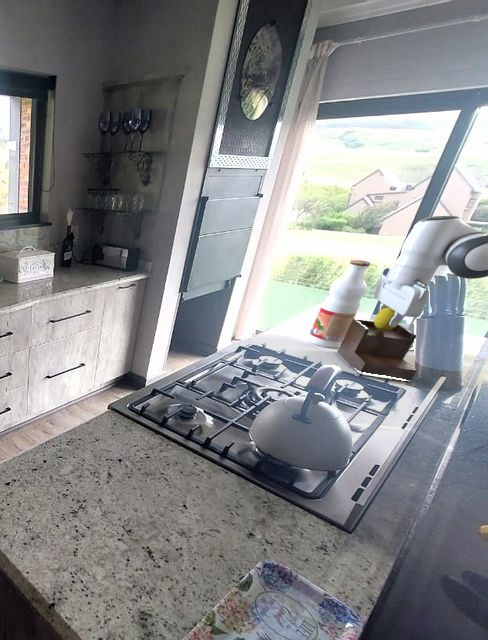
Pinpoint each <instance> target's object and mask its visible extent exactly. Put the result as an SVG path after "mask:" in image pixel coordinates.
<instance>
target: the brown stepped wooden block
mask: <svg viewBox="0 0 488 640" xmlns="http://www.w3.org/2000/svg"><path fill="white" fill-rule="evenodd" d="M415 338H416V335H415V334H414V333H412V332H411V331H409V330H408V329H406V328H405V327H403V326H402V325H400V324H398V325H397V326H396V327H395V328H393V329H391V330H385V331H383V332H381V331H380V330H379V329H378V328H377V327H376V326H375V324H374V320H368V319H361V318H354V319H353V320H352V322H351V324H350V326H349V329H348V331H347V333H346V335H345V337H344V339H343V341H342V343H341V345H340V346H339V347H338V349H337V353H338V354H339V355H340V356H341V357H342V358H343V359H344V360H345V362H347V363H348V365H349V366H350V367H351V368H352V369H353V370H354V372H356V370H355V369H354V368H356V369H357V370H359V371H361V372H366V373H371V374H378V375H386V376H391V377H396V378H402V379H406V380H411V381H412V380H413V378H414V376H415V375H416V374H417V372H418V370H417V369H416V368H415V367H413V366H412V365H411V364H409V362H407V361H406V360H405V357H406V355H407V353H408V351H410V350H409V348H410V346H411V345H412V343H413V341H414V339H415ZM353 367H354V368H353ZM391 381H395V382H401V380H395V379H392V380H391ZM401 383H408V384H409V383H410V384H411V382H408V381H402V382H401Z"/></svg>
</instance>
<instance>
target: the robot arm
mask: <svg viewBox="0 0 488 640" xmlns="http://www.w3.org/2000/svg"><path fill="white" fill-rule="evenodd" d="M440 266H447V267H448V269H449V271H450V272H451V273H452V274H453V275H455V276H457V277H459V278H462V279H468V280H475V279H476V280H477V279H483V278H486V277H488V233H487V232H485V231H482V230H479V229H477V228H476V227H474V226H472V225H470V224H468V223H466V222H465V221H464V220H463V219H461V217H460V216H456V215H440V216H439V215H435V216H429V217H425V218H423V219H421V220H419V221H418V222H417V223H416V224H414V226H413V228H412V230H411V231H410V233H409V234H408V236H407V238H406V239H405V242H404V243H403V245H402V248H401V253H400V256H399V257H398V258H397V259H396V260H395V262H394V263H393V265H392V266H388V267H384V268H383V269H382V271H381V277H380V279H379V281H378V283H377V285H376V287H375V290H374V293H373V298H374V299H376V300H377V301H379V302H380V305H379V309H378V313H379V312H380V311H381V310H382V309H384V308H388V307H390V308H391V309H393V310H394V311H395V313H394V317H393V318H392V319H389V322H388V325H390V326H393V327H396V326H397V325H398V323H399V321H401V320H402V319H403V318H404V317H405V316H407V317H418V316H419V315H420V314H421V313H422V311H423V309H424V307H425V306H427V303H428V300H429V297H430V291H429V289H428V286H429V284H430V283H431V281H432V279H433V277H434V275H435V273H436V272H437V270H438V268H439V267H440Z"/></svg>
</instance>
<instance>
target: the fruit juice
mask: <svg viewBox="0 0 488 640" xmlns="http://www.w3.org/2000/svg"><path fill="white" fill-rule="evenodd" d="M370 265H371V262H370V261H367V260H361V259H351V260H349V263H348V268H347V269H346V271H345V272H344V273H343V274H342V275H341V276H340V277H339V278H338V279H336V280H334V281H333V282H332V283H331V285H330V287H329V292H328V295H327V296H326V297H325V298H324V300H323V301H322V303H321V306H320V308H319V311H318V313H317V316H316V318H315V320H314V322H313V324H312V327H311V329H310V332H309V334H308V337H307V341H309V342H310V343H312V344H314V345H317V346H320V347H325V348H333V349H334V348H339V347H340V345H341V343H342V341H343V339H344V337H345V335H346V333H347V331H348V329H349V326H350V324H351V322H352V320H353V319H355V317H356V315H357V313H358V311H359V308H360V305H361V303H360V301H361V300H362V298H363V297H364V296H365V295H366V293H367V290H368V286H367V284H366V281H365V275H366V271H367V269H369V267H370Z"/></svg>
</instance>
